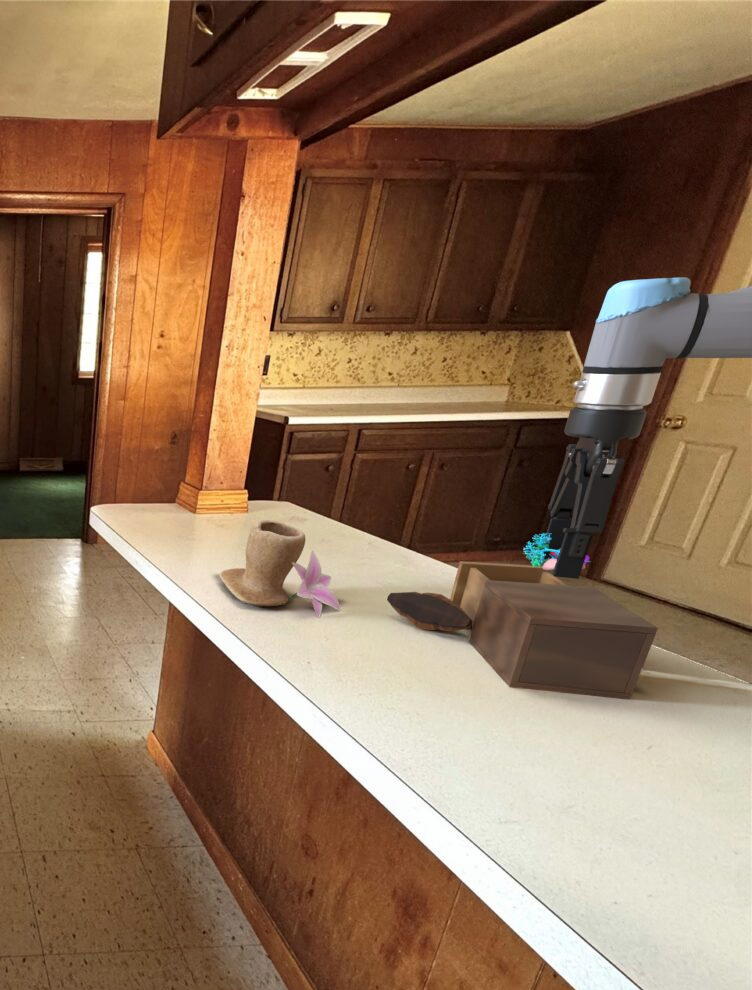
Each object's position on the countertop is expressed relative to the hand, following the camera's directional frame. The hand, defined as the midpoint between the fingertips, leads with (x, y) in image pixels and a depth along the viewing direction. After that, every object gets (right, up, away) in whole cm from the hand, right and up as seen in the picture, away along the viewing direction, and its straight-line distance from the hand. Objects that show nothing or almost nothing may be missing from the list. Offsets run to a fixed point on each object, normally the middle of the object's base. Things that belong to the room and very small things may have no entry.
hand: (557, 568), depth 97 cm
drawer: (+5, -8, +17) cm, 19 cm away
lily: (-22, -6, +27) cm, 35 cm away
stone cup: (-28, -4, +33) cm, 44 cm away
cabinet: (0, -15, +3) cm, 15 cm away
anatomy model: (0, 0, 0) cm, 0 cm away
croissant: (-8, -6, +15) cm, 18 cm away
